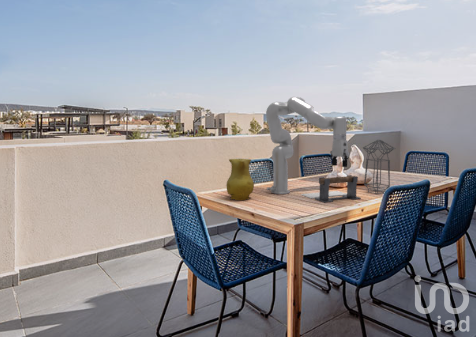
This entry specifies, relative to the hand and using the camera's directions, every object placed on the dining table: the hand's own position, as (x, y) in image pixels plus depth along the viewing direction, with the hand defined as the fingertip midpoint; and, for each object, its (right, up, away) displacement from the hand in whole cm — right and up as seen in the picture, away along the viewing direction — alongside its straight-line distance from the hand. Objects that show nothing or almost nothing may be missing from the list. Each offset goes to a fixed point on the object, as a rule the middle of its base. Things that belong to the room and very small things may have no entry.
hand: (339, 166), depth 214 cm
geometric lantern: (+31, -18, +22) cm, 42 cm away
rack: (0, -20, +3) cm, 20 cm away
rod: (0, -10, +2) cm, 10 cm away
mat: (-5, -19, +16) cm, 25 cm away
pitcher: (-59, -20, +9) cm, 63 cm away
